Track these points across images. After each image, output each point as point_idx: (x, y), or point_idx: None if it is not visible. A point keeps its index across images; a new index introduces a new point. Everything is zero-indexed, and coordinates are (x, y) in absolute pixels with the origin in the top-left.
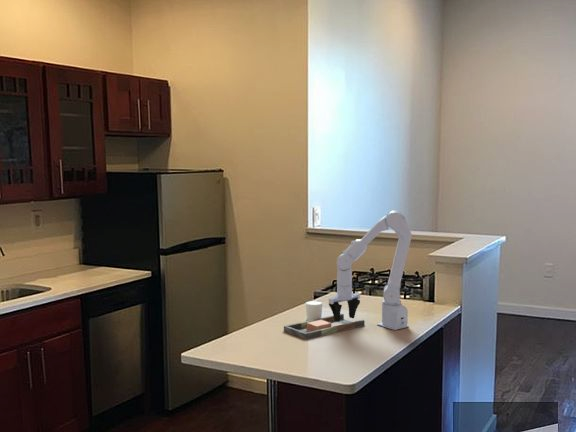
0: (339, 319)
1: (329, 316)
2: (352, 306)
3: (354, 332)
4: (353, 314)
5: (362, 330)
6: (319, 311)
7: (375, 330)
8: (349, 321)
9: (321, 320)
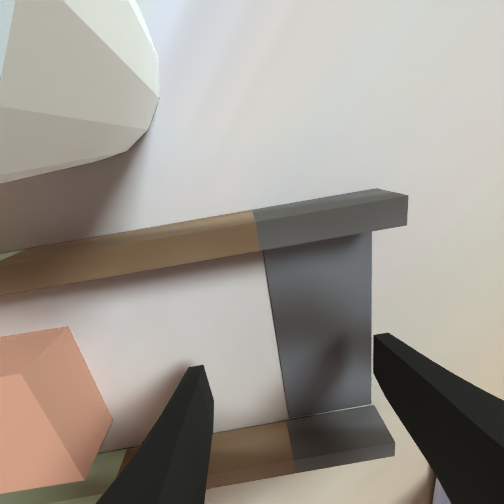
0: (209, 423)
1: (202, 237)
2: (472, 496)
3: (228, 491)
4: (396, 410)
5: (292, 479)
6: (30, 176)
7: (352, 496)
8: (359, 305)
9: (15, 394)
